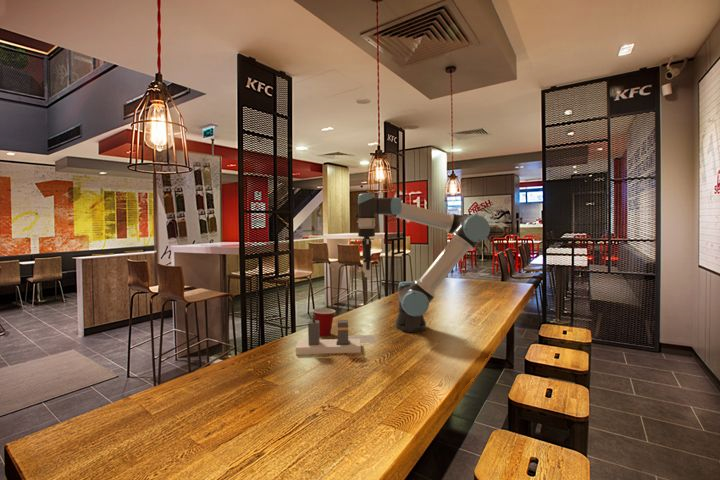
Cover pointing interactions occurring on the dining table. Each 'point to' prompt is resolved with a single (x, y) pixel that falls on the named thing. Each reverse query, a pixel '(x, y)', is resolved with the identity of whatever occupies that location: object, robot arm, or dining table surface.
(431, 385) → the dining table surface
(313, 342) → the socket stand
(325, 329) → the plastic cup
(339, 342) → the plug
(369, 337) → the white flat slab
